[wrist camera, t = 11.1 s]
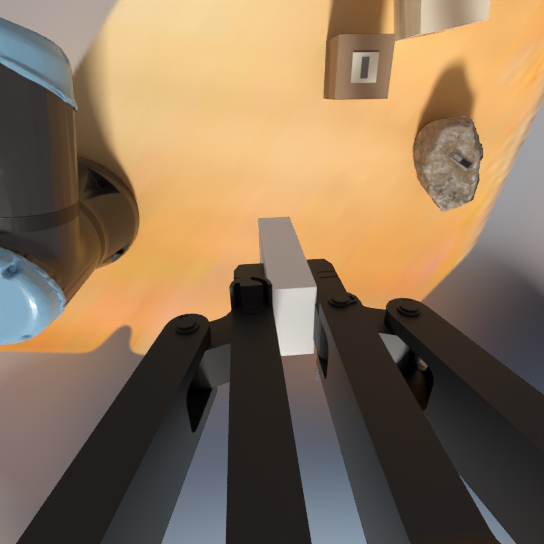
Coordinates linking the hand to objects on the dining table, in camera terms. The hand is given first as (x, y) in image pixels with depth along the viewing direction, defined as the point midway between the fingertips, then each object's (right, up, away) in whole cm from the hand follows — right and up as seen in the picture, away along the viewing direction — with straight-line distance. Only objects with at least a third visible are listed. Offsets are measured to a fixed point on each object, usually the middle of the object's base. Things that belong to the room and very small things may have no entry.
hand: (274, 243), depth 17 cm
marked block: (+9, +23, +25) cm, 36 cm away
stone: (+23, +14, +31) cm, 42 cm away
